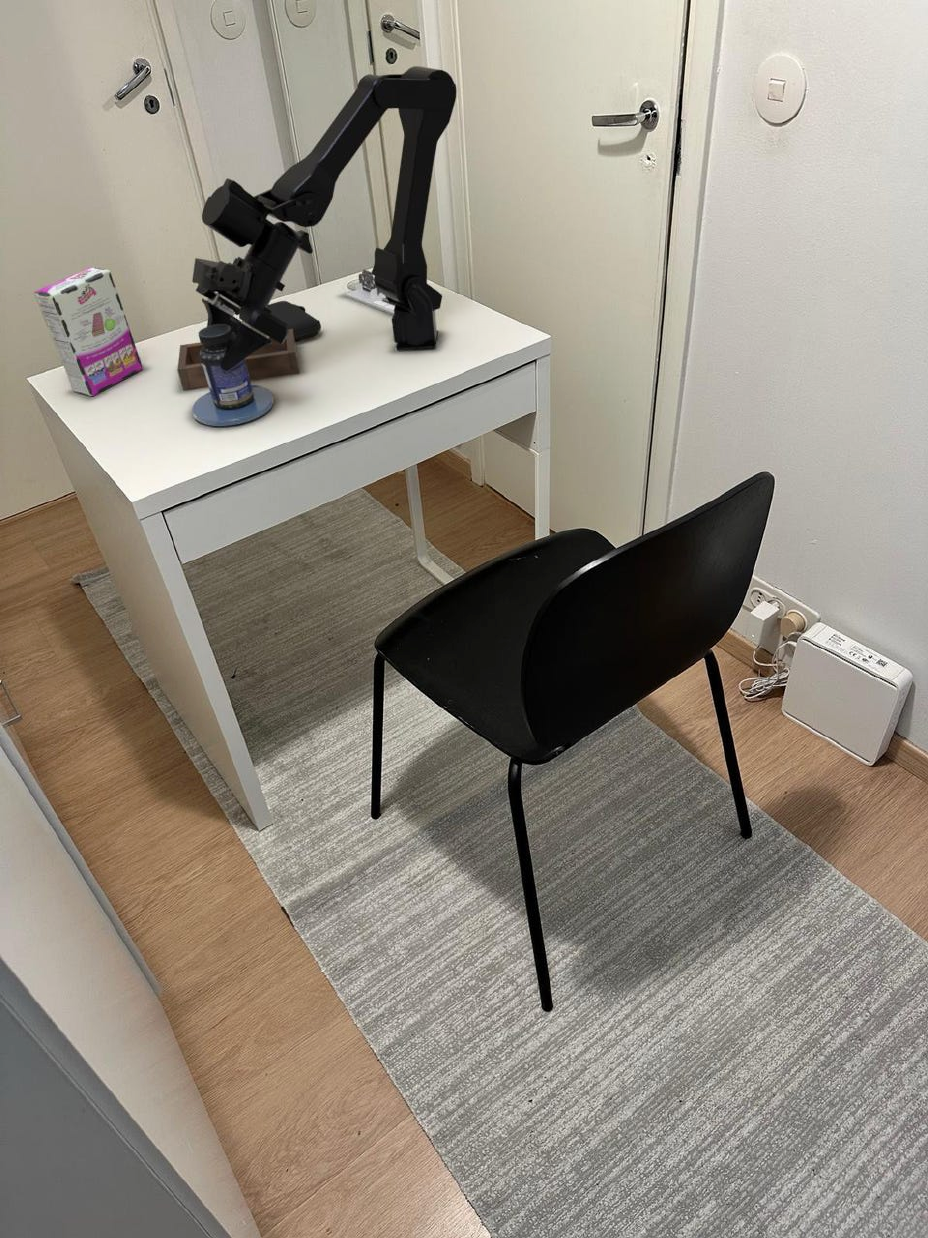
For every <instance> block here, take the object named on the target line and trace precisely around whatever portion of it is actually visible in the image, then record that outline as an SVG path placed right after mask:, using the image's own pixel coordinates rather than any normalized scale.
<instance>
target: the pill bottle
mask: <svg viewBox="0 0 928 1238" xmlns="http://www.w3.org/2000/svg"><path fill="white" fill-rule="evenodd" d="M232 334H233V333H232V329H231V327H230V326H229V325H226V324H216V325H211V326H208V327H207V326H206V327H203V328H202V329H200V330H199V331H198V338H199V342H201V343H202V344H203V345H204V346H203V347H202V349H201V350H200V354H199V355H200V359H201V363H202V366H203V369H204V373H205V376H206V379H207V383H208V386H209V387H208V389H209V392H210V393H211V396H212V399H213V403H214V405H215V406H216V407H218V408H222V409H236V408H240V407H243V406H245V405H247V404H248V403H250V402H251V401H252V400H253V398H254V392H253V389H252V385H253V384H252V380H250V378H249V374H248V370H247V366H246V363H245V359H244V360H242V361H241V362H239V363H238V364H237V365H235V366H234V367H232V368H231V369H230V370H228V371H225V370H223V369H222V368H221V367H220V366H221V363H222V360H223V357H224V354H225V352H226V349H227V347H228V344H229V342H230V339H231V337H232Z"/></svg>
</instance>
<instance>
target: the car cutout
mask: <svg viewBox="0 0 928 1238" xmlns="http://www.w3.org/2000/svg"><path fill="white" fill-rule="evenodd" d="M361 271H362V272H361V273H359V274H358V283H357V284H356V285H355V288H354V290H351V291H348V292H347V293H344V297H345V298H348V299H351V300H354V301H356V302H358V303H360V304H364V305H366V306H369V307H371V308H374V309H376V310H378V311H382V312H385V313H387V314H389V315H391V316H393V314H394V308H395V305H394V304H392V303H389V302H388V301H387V299H386V297H385V295H383V294H382V293H380V292H379V290H378V289H377V287H376V286H375V282H374V275H372V274H371V272H372V271H370V270H367V269H362V270H361Z"/></svg>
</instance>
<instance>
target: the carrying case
mask: <svg viewBox="0 0 928 1238" xmlns="http://www.w3.org/2000/svg"><path fill="white" fill-rule="evenodd" d="M267 309H269V310H270V311H271V313H270V314H272V315H273V316H275V317H277V318H278V319H280V320H281V321H283V322H285V323H286V324H287V326H288V329H293V334H294V339H295V344H296V343H298V342H302V341H306V340H309V339H311V338H315V337H316V336H318V335H319V332H321V330H322V324H321V321H320V320H319V319H317V318H315V317H313V316H312V315H311V314H309V313H308V312H306V308H305V306H302V305H297V304H295V303H291V302H289V301H288V300H279V301H276V302H273V303H269V304H268V306H267Z"/></svg>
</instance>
